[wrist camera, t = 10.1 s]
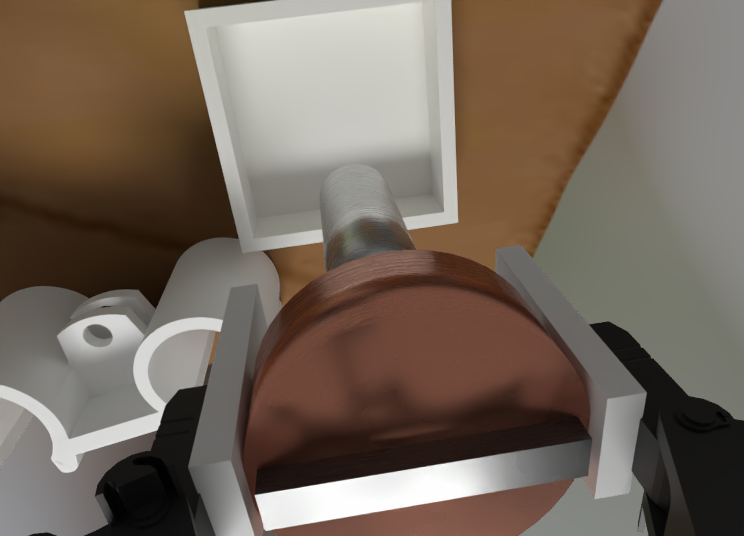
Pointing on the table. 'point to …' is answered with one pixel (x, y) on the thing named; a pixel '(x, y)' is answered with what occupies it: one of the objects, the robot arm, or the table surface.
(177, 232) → the table surface
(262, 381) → the copper slotted screw
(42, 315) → the bracket
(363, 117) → the tray
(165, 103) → the table surface
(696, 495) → the robot arm
